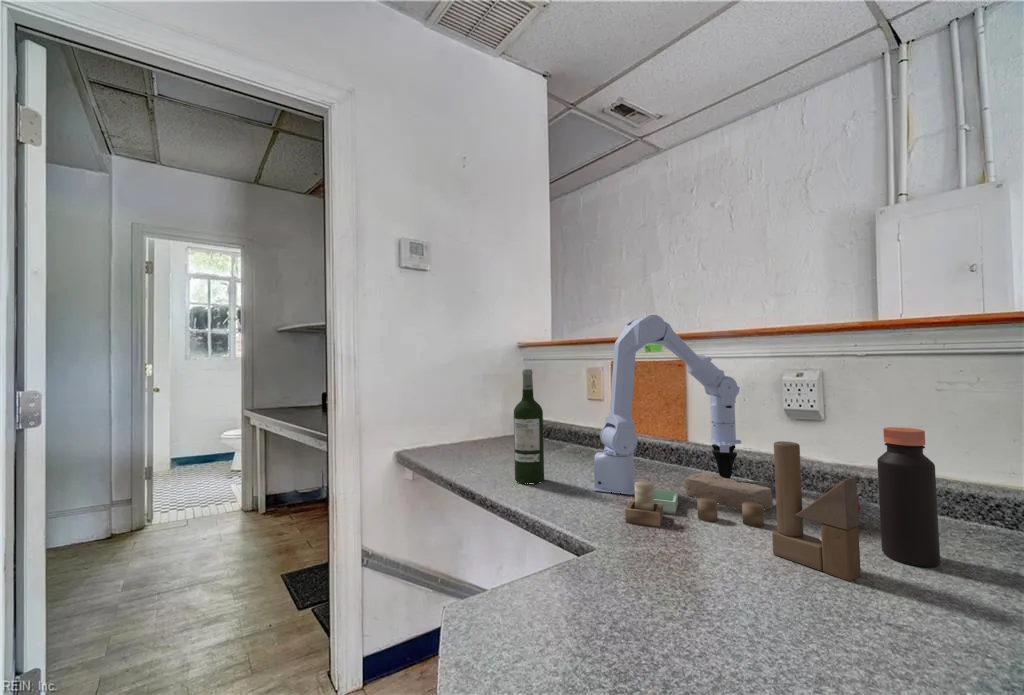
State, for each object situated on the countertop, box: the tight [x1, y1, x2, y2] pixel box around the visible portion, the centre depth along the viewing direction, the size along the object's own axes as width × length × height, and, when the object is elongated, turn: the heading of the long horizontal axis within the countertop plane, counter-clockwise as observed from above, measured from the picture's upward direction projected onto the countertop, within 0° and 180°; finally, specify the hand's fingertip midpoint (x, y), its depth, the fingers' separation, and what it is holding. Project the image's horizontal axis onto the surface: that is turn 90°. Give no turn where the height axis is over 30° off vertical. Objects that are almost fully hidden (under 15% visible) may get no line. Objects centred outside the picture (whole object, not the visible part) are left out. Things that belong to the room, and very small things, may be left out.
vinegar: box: [876, 426, 941, 568], centre depth 69 cm, size 7×7×20 cm
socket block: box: [624, 499, 664, 528], centre depth 88 cm, size 6×6×2 cm
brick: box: [684, 472, 774, 511], centre depth 99 cm, size 17×8×5 cm, turn 33°
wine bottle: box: [513, 368, 545, 485], centre depth 119 cm, size 8×8×30 cm
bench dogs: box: [696, 498, 765, 528], centre depth 86 cm, size 12×4×4 cm, turn 66°
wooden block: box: [771, 440, 862, 582], centre depth 68 cm, size 4×11×18 cm, turn 31°
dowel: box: [634, 480, 654, 511], centre depth 88 cm, size 4×4×7 cm
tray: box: [653, 488, 679, 515], centre depth 95 cm, size 6×8×2 cm
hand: (724, 475), depth 113 cm, fingers open, 7 cm apart
